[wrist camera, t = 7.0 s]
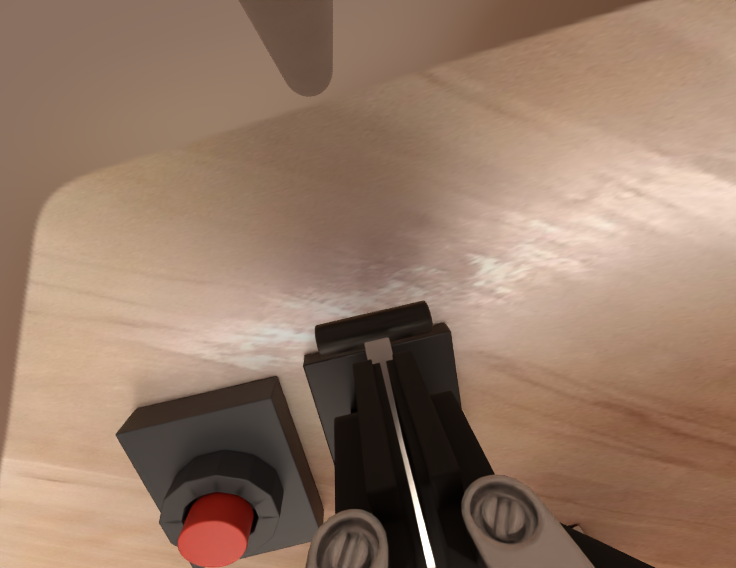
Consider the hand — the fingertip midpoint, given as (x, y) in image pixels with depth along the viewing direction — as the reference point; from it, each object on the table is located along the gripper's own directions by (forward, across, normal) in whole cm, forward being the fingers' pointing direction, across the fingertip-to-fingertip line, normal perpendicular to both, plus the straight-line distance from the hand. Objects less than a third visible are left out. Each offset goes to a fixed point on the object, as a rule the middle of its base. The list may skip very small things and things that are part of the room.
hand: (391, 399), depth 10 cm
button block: (+11, +11, +11) cm, 19 cm away
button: (+7, +11, +11) cm, 17 cm away
